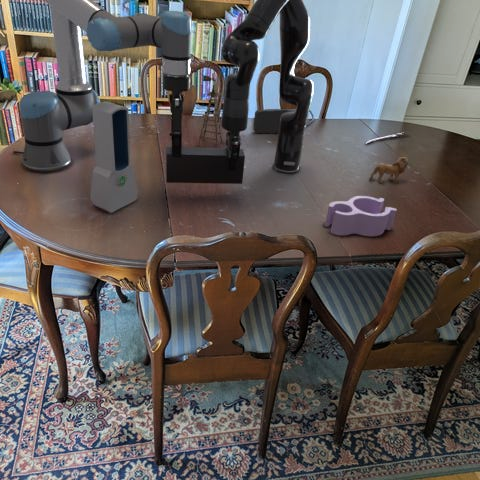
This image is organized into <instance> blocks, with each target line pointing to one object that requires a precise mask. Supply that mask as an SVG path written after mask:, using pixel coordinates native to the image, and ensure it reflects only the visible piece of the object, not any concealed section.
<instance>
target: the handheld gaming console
mask: <svg viewBox="0 0 480 480" xmlns="http://www.w3.org/2000/svg"><path fill="white" fill-rule="evenodd" d="M296 109H297V108H265V109H256V111H255V112H254V117H253V118H254V119H253V126H252V127H253V128H252V129H253V131H254V133H256V134H278V133H279V125H280V118H281V115H282V114H284V113H286V112H294V111H296Z"/></svg>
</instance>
